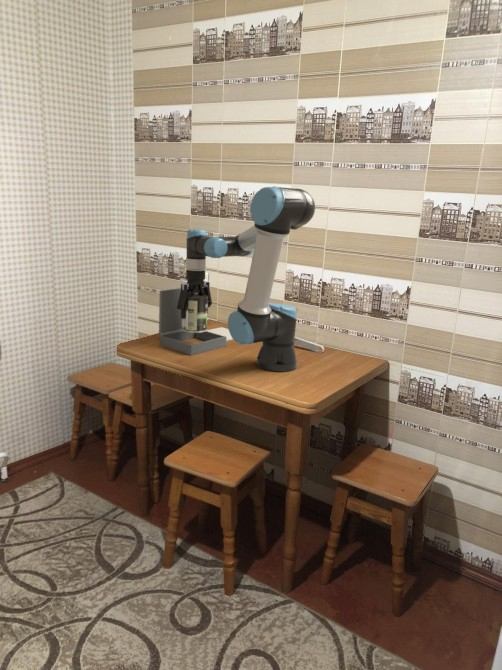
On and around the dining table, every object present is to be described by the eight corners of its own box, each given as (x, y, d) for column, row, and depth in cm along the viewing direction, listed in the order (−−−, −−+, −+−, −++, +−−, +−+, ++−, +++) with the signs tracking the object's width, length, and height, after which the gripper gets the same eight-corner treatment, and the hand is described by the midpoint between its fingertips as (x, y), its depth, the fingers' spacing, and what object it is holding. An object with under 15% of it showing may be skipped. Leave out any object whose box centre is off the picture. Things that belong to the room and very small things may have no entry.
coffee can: (205, 327, 220) (206, 293, 217) (208, 333, 210) (209, 298, 207) (180, 327, 218) (181, 293, 215) (182, 333, 208) (183, 297, 205)
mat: (247, 335, 237) (247, 334, 236) (223, 341, 224) (223, 340, 224) (221, 328, 246) (221, 327, 246) (196, 333, 234) (196, 332, 234)
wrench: (320, 360, 218) (258, 338, 232) (322, 359, 219) (261, 337, 233) (324, 341, 215) (261, 320, 229) (326, 341, 217) (264, 320, 231)
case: (226, 346, 218) (228, 293, 213) (191, 355, 203) (193, 299, 198) (193, 336, 230) (194, 286, 224) (157, 344, 215) (158, 290, 209)
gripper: (208, 266, 219) (207, 319, 224) (167, 270, 202) (167, 326, 207) (222, 268, 215) (220, 322, 220) (181, 272, 197) (180, 330, 203)
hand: (194, 324), depth 214 cm, fingers closed on coffee can, 10 cm apart
